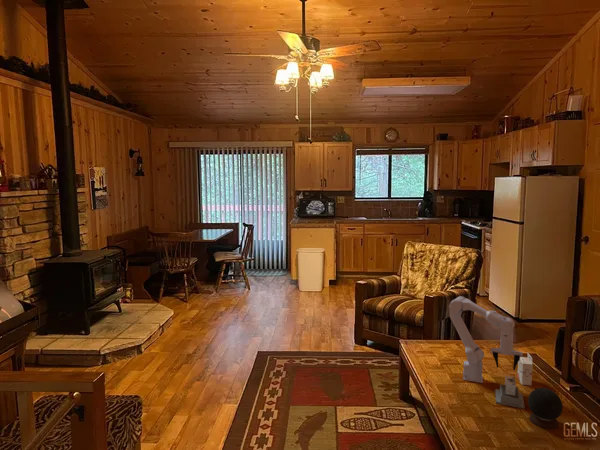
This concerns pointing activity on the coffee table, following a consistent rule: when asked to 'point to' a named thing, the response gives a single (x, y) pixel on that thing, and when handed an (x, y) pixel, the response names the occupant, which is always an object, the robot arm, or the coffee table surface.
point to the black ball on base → (545, 408)
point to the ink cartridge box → (525, 370)
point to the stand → (509, 398)
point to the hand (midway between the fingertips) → (505, 368)
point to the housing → (510, 385)
